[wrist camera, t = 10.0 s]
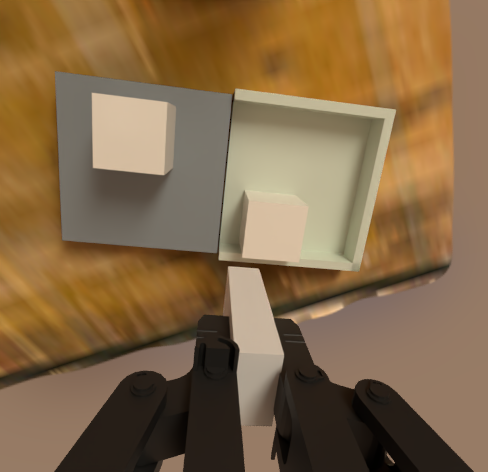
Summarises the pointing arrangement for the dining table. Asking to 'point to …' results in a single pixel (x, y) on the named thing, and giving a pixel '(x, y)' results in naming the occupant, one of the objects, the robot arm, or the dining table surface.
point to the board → (142, 184)
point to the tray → (307, 171)
